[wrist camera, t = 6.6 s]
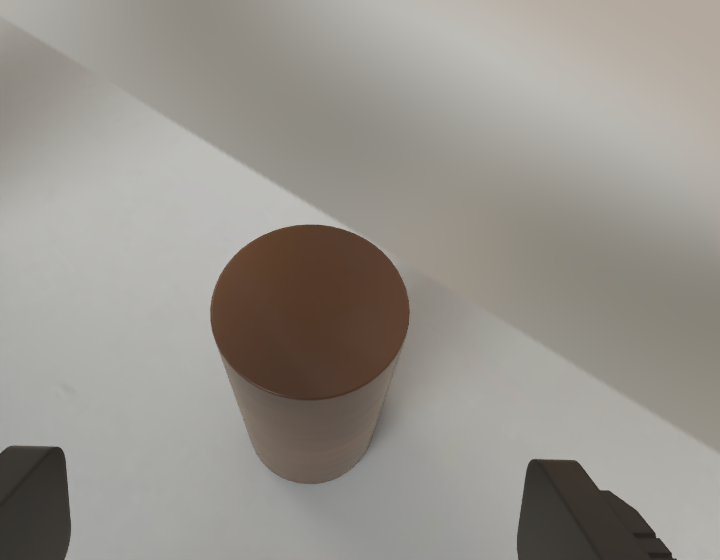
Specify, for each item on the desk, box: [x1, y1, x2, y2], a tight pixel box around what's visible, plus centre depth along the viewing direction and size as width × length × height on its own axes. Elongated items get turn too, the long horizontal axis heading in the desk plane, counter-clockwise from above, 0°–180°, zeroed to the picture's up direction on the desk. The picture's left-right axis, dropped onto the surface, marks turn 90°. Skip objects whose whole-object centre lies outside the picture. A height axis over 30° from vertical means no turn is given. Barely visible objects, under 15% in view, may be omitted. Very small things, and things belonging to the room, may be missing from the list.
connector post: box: [210, 225, 410, 484], centre depth 17 cm, size 5×5×9 cm
